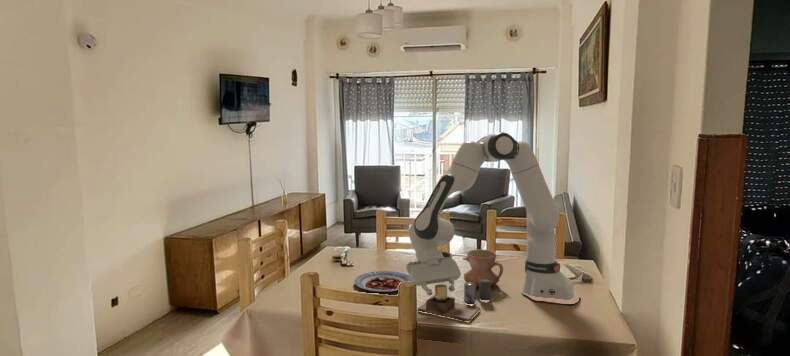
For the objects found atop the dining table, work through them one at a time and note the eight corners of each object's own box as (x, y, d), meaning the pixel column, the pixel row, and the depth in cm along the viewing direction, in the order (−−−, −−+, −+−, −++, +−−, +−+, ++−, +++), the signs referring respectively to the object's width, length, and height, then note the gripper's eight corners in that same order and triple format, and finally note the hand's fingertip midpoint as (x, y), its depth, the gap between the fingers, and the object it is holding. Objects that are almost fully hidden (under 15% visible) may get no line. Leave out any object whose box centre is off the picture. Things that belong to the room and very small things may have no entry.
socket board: (480, 311, 181) (480, 299, 181) (468, 323, 171) (468, 310, 171) (431, 301, 191) (431, 290, 191) (417, 312, 181) (417, 300, 180)
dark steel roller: (477, 303, 190) (477, 283, 189) (473, 307, 186) (473, 286, 185) (466, 301, 192) (466, 281, 191) (462, 304, 188) (462, 284, 187)
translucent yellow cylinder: (448, 306, 182) (448, 285, 181) (443, 310, 179) (444, 289, 178) (437, 304, 185) (438, 283, 184) (432, 308, 181) (433, 287, 180)
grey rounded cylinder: (492, 300, 193) (492, 280, 192) (488, 303, 189) (488, 283, 188) (481, 298, 195) (481, 278, 194) (477, 301, 191) (477, 281, 190)
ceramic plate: (408, 298, 196) (408, 290, 195) (346, 293, 201) (346, 286, 200) (418, 277, 221) (418, 271, 220) (363, 274, 226) (363, 267, 225)
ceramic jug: (455, 286, 209) (456, 253, 207) (469, 277, 221) (470, 246, 219) (495, 294, 199) (496, 260, 197) (508, 284, 211) (509, 252, 210)
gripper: (407, 258, 181) (419, 292, 174) (455, 252, 190) (468, 284, 182) (402, 267, 186) (413, 300, 178) (449, 260, 194) (461, 292, 187)
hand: (441, 292), depth 180 cm, fingers open, 8 cm apart
